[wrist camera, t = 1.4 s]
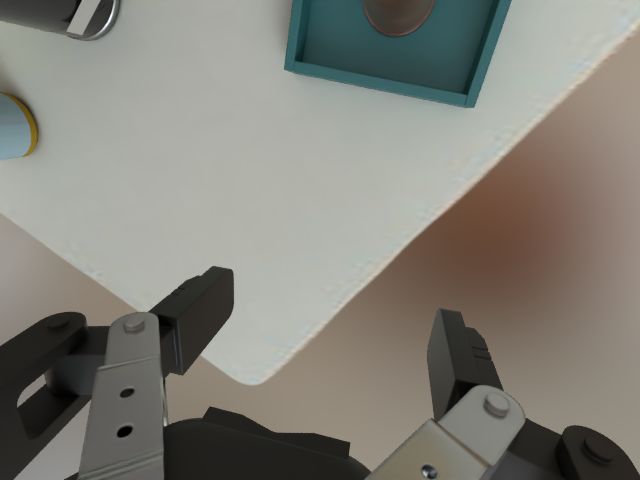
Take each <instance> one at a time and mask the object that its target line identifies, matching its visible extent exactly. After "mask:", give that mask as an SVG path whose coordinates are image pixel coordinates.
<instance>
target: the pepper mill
mask: <svg viewBox="0 0 640 480" xmlns="http://www.w3.org/2000/svg"><path fill="white" fill-rule="evenodd" d="M435 1H436V0H363V6H364V11H365V14H366V17H367V19H368V21H369V23H370V25H371V26H372V27H373V28H374V29H375V30H376V31H377V32H378V33H380V34H382V35H384V36H387V37H392V38H399V37H404V36H407V35H409V34H411V33H413V32H415V31H416V30H417V29H419V28H420V27H421V26H422V25H423V24H424V23H425V21H426V20H427V19H428V17H429V15H430V14H431V11H432V9H433V7H434V4H435Z"/></svg>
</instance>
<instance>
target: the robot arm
mask: <svg viewBox="0 0 640 480" xmlns="http://www.w3.org/2000/svg"><path fill="white" fill-rule="evenodd" d="M119 7H120V0H0V21H3V22H7V23H12V24H16V25H21V26H25V27H30V28H34V29H39V30H43V31H47V32H52V33H56V34H61V35H66V36H68V37H71V38H74V39H78V40H84V41H91V40H96V39H98V38H100V37H102V36H104V35H105V34H106V33H107V32H108V31H109V30H110V29H111V28H112V26H113V24H114V23H115V20H116V18H117V15H118V12H119ZM233 306H234V275H233V271H232V270H231V269H227V268H222V267H217V266H212V267H211V268H210V269H209V270H207V271H206V272H205V273H204V274H203V275H202V276H199V275H198V276H196V277H193V278H191V279H189V280H186V281H185V282H184V283H183V284H181V285H180V286H179V287H178V289H175V290H174V291H173V292H172V293H171V295H168V296H167V297H166V298H164V299H163V300H162V301H161V302H159V303H158V304H157V305H156V306H155V307H153V308H152V309H151V310H150V311H148V312H135V313H131V314H127V315H124V316H122V317H120V318H118V319H117V320H116V321H114V322H113V323H112V324H111V326H87V321H86V317H85V316H84V315H83V314H81V313H78V312H63V313H58V314H54V315H51V316H49V317H46V318H44V319H42V320H40V321H39V322H37V323H35V324H34V325H33V326H31V327H29V328H28V329H26V330H25V331H23V332H21V333H20V334H18V335H17V336H15V337H14V338H12V339H10V340H9V341H7V342H6V343H4V344H3V345H1V346H0V480H13V479H14V478H15V477H16V476H17V475H18V474H19V473H20V472H21V471H22V470H23V469H24V468H25V467H26V466H27V465H28V464H29V463H30V462H31V461H32V460H33V459H34V458H35V457H36V456H37V455H38V453H39V452H40V451H41V450H42V449H43V448H44V447H45V446H46V445H47V444H48V443H49V442H50V441H51V440H52V439H53V438H54V437H55V436H56V435H57V434H58V433H59V432H60V431H61V430H62V429H63V428H64V427H65V426H66V425H67V424H68V423H69V421H70V420H71V419H72V418H73V417H74V416H75V415H76V414H77V413H78V412H79V411H80V410H81V409H82V408H83V407H84V406H85V405H86V404H87V403H88V402H89V401H90V400H91V404H90V410H89V416H88V422H87V427H86V433H85V439H84V444H83V450H82V455H81V461H80V467H79V472H77V473H75V474H74V475H72V476H70V477H68V478H66V479H64V480H640V475H639V473H638V472H637V470H636V468H635V467H634V465H633V463H632V462H631V460H630V459H629V457H628V456H627V455H626V453H625V452H624V451H623V450H622V449H621V448H620V447H619V446H618V445H616V444H615V443H614V442H613V441H611V440H610V439H609V438H607V437H605V436H604V435H602V434H601V433H599V432H597V431H594V430H592V429H590V428H587V427H583V426H576V425H574V426H569V427H567V428H565V430H564V431H563V433H562V435H560V434H558V433H556V432H553V431H551V430H549V429H547V428H545V427H543V426H541V425H538V424H536V423H534V422H532V421H531V420H529V419H527V418H526V417H525V413H524V410H523V408H522V407H521V405H520V404H519V403H518V402H517V401H516V400H515V399H514V398H513V397H512V396H510V395H509V394H508V393H506V392H504V390H503V388H502V385H501V382H500V380H499V377H498V375H497V372H496V369H495V366H494V364H493V361H491V359H492V358H491V356H490V353H489V352H488V348H487V345H486V343H485V340H484V338H483V337H482V336H481V335H480V334H479V333H478V332H477V331H476V330H475V329H474V328H468V327H465V324H464V321H463V318H462V315H461V312H458V311H452V310H447V309H442V308H439V309H438V310H437V313H436V316H435V320H434V324H433V328H432V332H431V336H430V339H429V344H428V350H427V362H428V370H429V378H430V387H431V395H432V403H433V412H434V419H432V418H431V419H428V420H427V421H426V422H425V423H424V424H422V425H421V426H420V427H419V428H418V430H416V431H415V432H414V433H413V434H412V435H411V436H410V437H409V438H408V439H407V440H406V441H404V443H402V444H401V445H400V446H399V447H398V448H397V449H396V450H395V451H394V452H393V453H392V454H391V455H390V456H389V457H388V458H386V459H385V460H384V461H383V462H382V463H381V464H380V465H379V466H378V467H377V468H376V469H375V470H374V471H373V472H371V471H370V470H369V469H367V468H366V467H365V466H364V465H363V464H361V463H360V462H359V461H357V460H356V459H354V458H352V457H351V456H349V449H350V442H346V441H342V440H338V439H335V438H331V437H326V436H323V435H319V434H315V433H276V432H273V431H270V430H269V429H267V428H265V427H263V426H261V425H260V424H258V423H256V422H254V421H253V420H251V419H249V418H247V417H245V416H243V415H241V414H237V413H233V412H230V411H225V410H221V409H218V408H214V407H209V408H208V410H207V412H206V413H205V415H204V416H203V418H193V419H186V420H182V421H178V422H175V423H172V424H168V410H167V395H166V381H165V378H166V377H167V376H168V374H169V373H174V374H178V375H182V376H183V375H184V373H185V372H186V371H187V370H188V369H189V367H190V366H191V365H192V364H193V362H194V361H195V360H196V359H197V357H198V356H199V355H200V354H201V352H202V351H203V350H204V349H205V347H206V346H207V345H208V344H209V342H210V341H211V340H212V339H213V337H214V336H215V335H216V334H217V332H218V331H219V330H220V329H221V327H222V326H223V325H224V324H225V322H226V321H227V320H228V319H229V317H230V315H231V313H232V310H233ZM42 374H44V376H45V380H46V384H45V385H44V386H43V387H41V388H40V389H39V390H38V391H37V392H36V393H34V394H33V395H32V396H31V397H30V398H28V399H27V400H26V401H25V402H24V403H23V404H21V405H20V406H19V407H18V408H17V401H18V398H19V396H20V394H21V393H22V391H23V390H24V389H25V388H26V387H28V386H29V385H30V384H31V383H32V382H34V381H35V380H36V379H37V378H39V377H40V376H41V375H42Z"/></svg>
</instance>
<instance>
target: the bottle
mask: <svg viewBox="0 0 640 480" xmlns="http://www.w3.org/2000/svg"><path fill="white" fill-rule="evenodd" d="M37 141H38V130H37V125H36V122H35V120H34V118H33V116H32V114H31V113H30V112H29V110H28V109H27V108H26V107H25V106H24V105H23V104H22V103H21V102H20V101H18V100H17V99H16V98H14V97H13V96H11V95H9V94H6V93H0V160H3V159H11V158H18V157H23V156H27V155H29V154H30V153H31V152H32V151H33V150H34V148H35V146H36V143H37Z"/></svg>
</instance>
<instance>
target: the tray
mask: <svg viewBox="0 0 640 480" xmlns="http://www.w3.org/2000/svg"><path fill="white" fill-rule="evenodd" d="M511 1H512V0H436V1H435V4H434V7H433V9H432V11H431V14H430V15H429V17H428V19H427V20H426V21H425V23H424V24H423V25H422V26H421V27H420V28H419V29H417V30H416V31H415V32H413V33H411V34H409V35H407V36H404V37H399V38H392V37H387V36H384V35H382V34H380V33H378V32H377V31H376V30H375V29H374V28H373V27H372V26H371V25H370V23H369V21H368V19H367V17H366V14H365V11H364V6H363V0H293V5H292V12H291V20H290V28H289V35H288V43H287V50H286V58H285V66H284V70H287V71H290V72H293V73H296V74H301V75H306V76H311V77H316V78H321V79H326V80H331V81H336V82H341V83H346V84H350V85H355V86H360V87H365V88H370V89H375V90H380V91H385V92H390V93H395V94H400V95H405V96H410V97H415V98H420V99H425V100H430V101H435V102H440V103H445V104H449V105H454V106H459V107H464V108H474V107H475V104H476V101H477V98H478V95H479V93H480V90H481V87H482V84H483V81H484V78H485V75H486V72H487V70H488V67H489V64H490V61H491V58H492V55H493V52H494V49H495V47H496V44H497V41H498V38H499V35H500V32H501V29H502V26H503V24H504V21H505V18H506V15H507V12H508V9H509V6H510V3H511Z"/></svg>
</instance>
